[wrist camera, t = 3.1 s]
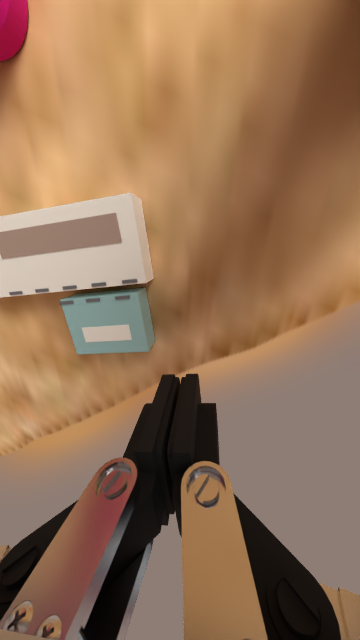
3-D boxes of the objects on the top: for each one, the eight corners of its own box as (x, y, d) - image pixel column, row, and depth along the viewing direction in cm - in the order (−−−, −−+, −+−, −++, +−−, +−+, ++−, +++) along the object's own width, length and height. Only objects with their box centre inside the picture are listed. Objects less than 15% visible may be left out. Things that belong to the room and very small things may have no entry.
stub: (145, 287, 21) (137, 293, 19) (155, 340, 23) (148, 352, 20) (75, 294, 22) (58, 300, 20) (90, 343, 24) (76, 354, 22)
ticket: (141, 198, 18) (130, 192, 16) (153, 278, 21) (146, 283, 18) (-24, 228, 21) (-54, 226, 19) (3, 294, 24) (-21, 299, 21)
